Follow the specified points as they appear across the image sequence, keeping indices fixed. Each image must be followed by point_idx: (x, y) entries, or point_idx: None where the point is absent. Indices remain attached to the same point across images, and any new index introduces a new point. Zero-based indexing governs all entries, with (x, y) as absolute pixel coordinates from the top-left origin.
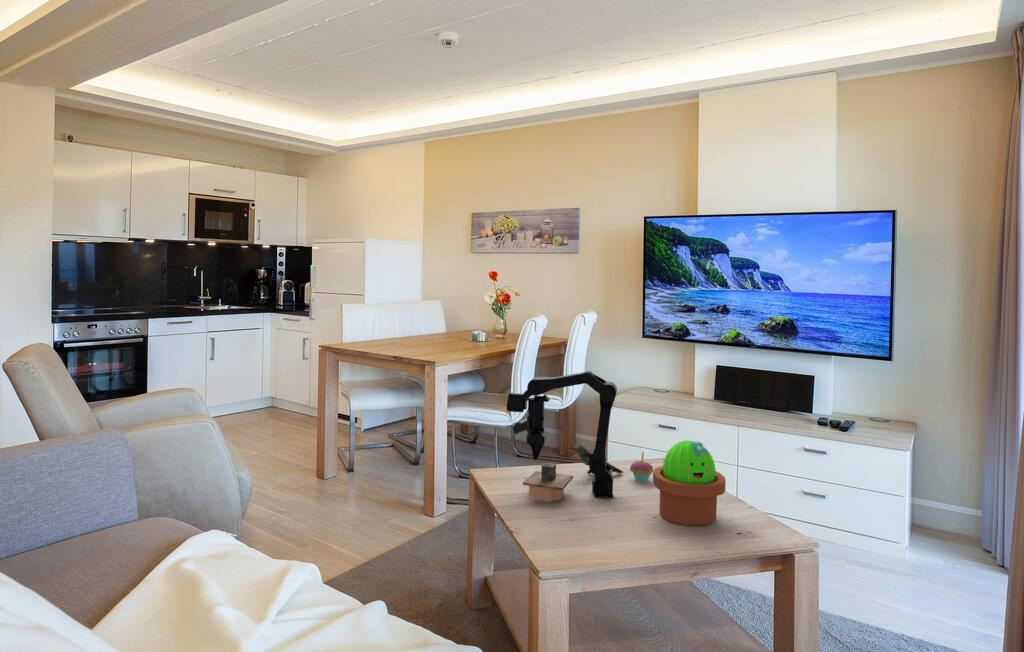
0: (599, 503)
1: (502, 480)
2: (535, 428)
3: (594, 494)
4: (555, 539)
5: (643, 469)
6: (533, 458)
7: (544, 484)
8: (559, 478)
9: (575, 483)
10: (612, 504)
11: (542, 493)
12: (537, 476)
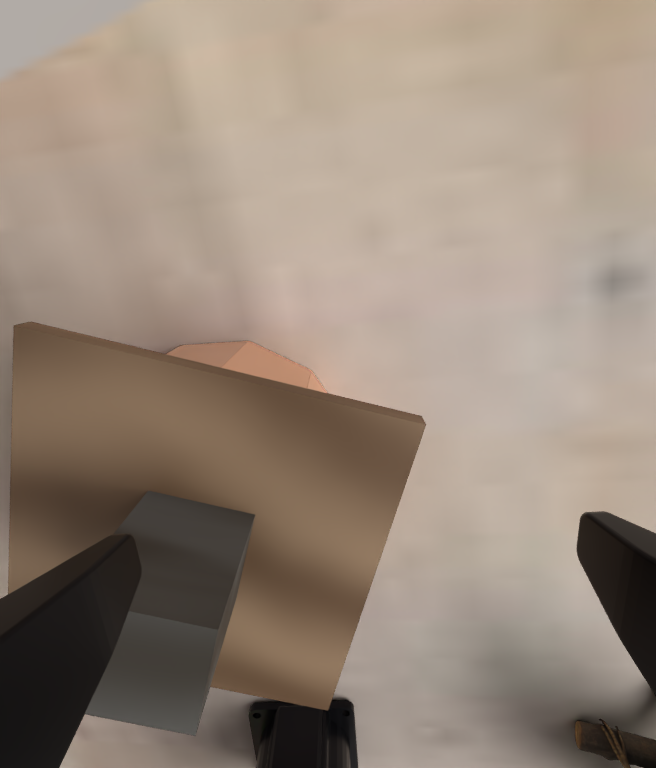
0: None
1: (552, 58)
2: None
3: (271, 709)
4: None
5: None
6: (92, 545)
7: (35, 520)
8: (230, 624)
9: (489, 618)
10: (171, 760)
11: None
12: (245, 451)
